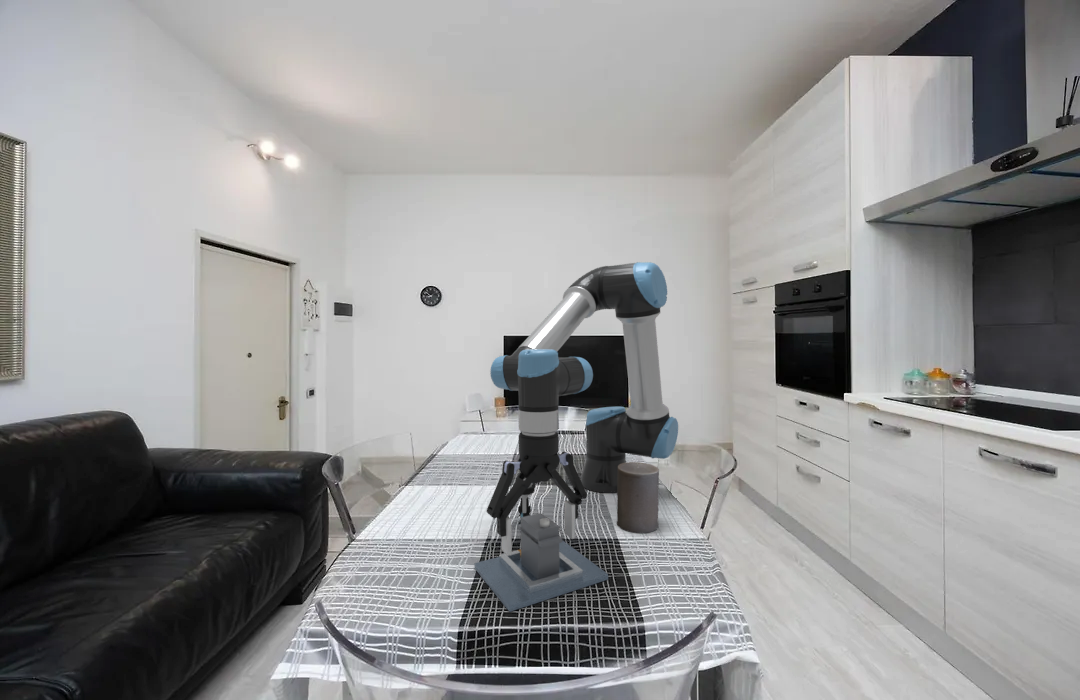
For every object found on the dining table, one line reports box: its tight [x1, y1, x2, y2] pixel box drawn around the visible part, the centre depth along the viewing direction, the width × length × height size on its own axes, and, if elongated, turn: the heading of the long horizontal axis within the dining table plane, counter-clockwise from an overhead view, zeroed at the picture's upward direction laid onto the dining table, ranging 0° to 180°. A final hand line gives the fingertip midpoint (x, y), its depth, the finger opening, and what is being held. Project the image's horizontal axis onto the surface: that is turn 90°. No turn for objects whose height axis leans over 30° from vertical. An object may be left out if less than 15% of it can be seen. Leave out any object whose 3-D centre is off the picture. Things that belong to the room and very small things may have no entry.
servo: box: [517, 512, 563, 580], centre depth 86 cm, size 4×9×10 cm, turn 29°
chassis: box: [473, 539, 609, 613], centre depth 86 cm, size 20×16×2 cm
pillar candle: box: [616, 461, 660, 534], centre depth 108 cm, size 10×10×15 cm
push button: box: [517, 478, 536, 523], centre depth 109 cm, size 7×5×10 cm
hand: (539, 543), depth 86 cm, fingers open, 13 cm apart
